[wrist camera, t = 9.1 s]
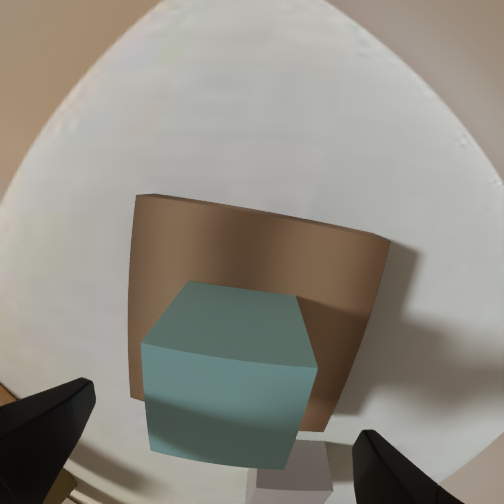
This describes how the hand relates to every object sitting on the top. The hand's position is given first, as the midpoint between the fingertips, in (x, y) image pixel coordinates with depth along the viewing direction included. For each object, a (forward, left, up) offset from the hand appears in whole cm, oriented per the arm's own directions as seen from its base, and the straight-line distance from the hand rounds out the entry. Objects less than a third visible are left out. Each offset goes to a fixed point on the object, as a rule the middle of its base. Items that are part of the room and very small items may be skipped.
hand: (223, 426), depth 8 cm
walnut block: (0, 0, -9) cm, 9 cm away
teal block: (0, 0, -6) cm, 6 cm away
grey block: (-5, +12, -9) cm, 16 cm away
